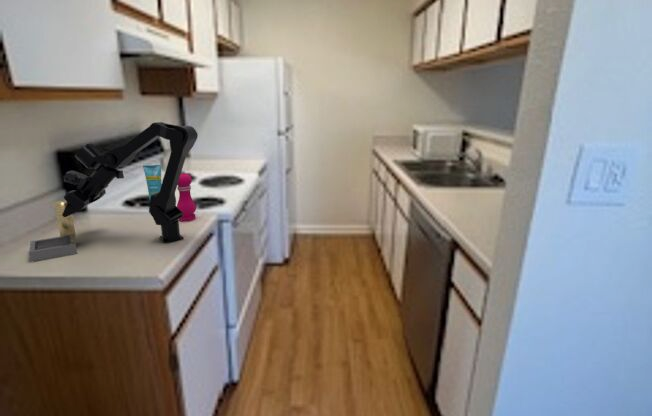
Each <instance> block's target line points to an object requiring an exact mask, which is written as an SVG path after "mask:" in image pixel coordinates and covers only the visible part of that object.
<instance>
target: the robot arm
mask: <svg viewBox="0 0 652 416" xmlns="http://www.w3.org/2000/svg"><path fill="white" fill-rule="evenodd" d="M198 136H199V135H198V132H197V130H196V129H195V128H194V126H191V125H182V126H181V125H175V124H169V123H167V122H163V121H160V122H159V121H157V122H152V123H151V124H150V125H149V126H148V127H146V129H144V130H143V131H141V132H140V133H138V134H137V135H135V136H134V137H133V138H131V139H130V140H128V141H127V142H126V143H124V144H122V145H119V146H117V147H114V148H112V149H108V150H107V151H105V152H104V153H102V152H101V151H100V150H98V148H97V147H96V146H95V145H94V144H93V143H92V142H91V143H87V144H86V145H84V146H82V147H81V148H80V149H78V150H77V151H76V152H75V154H74V157H75V158H76V159H77V160H78V161H80V163H81V164H83V165H84V167H85V168H87V169H88V170H92V169H93V170H94V171H93V172H92V174H91V175H89V176H88V175H86V174H84V173H82V172H79V171H76V170H69V171H66V172H65V174H64V175H63V182H64V183H66V184H67V183H69V184H71V185H73V186H76V189H77V190H76V189H74V190H70V191H68V192H66V194H65V195H63V199H64V201H67V205H66V207H65V210H64V212H63V214H62V216H63V217H67V216H69V215H71V214H72V215H73V214H76V213H78V212H80V211H83V209H85V208H86V207H87V206H88V205H90V204H92V203H95V202H96V201H98V200H100V199H101V198H103V197H104V196H105V195H106V194H107V191H106V189H107V188H108V187H109V184H110V183H111V182H112V181H114V179H115V178H116V179H118V180H120V179H125V176H124V171H123V170H122V169H121V170H119V168H121V167H122V168H123V167H126V166H128V165H129V164H130V163H132V161H133V160H134V159H135V158H136V155H137V154H138V153H139V152H141V151H142V150H144V149H145V148H146V147H148V146H149V145H151V144H152V143H153V142H155V141H157V139H159V138H160V137H161V138H162V139H165V140H167V141H169V147H170V154H169V159H168V161H167V165H166V169H165V171H164V176H163V177H162V178H163V179H162V181H161V183H162V185H161V188H160V191H159V192H158V193H156V194H153V195H151V198H149V203H148V205H147V207H148V213H149V214H150V216H151V217H152V219H153V221H154V223H155V225H157V226H160V230H161V235H159V239H160V240H161V242H162V243H171V242H176V241H180V240H184V237H183V236H182V235H181V230H180V220H179V219H180V218H182V215H183V212H182V211H181V210H180V209H179V208H177V199H176V198H177V197H176V192H177V189H178V188H177V187H178V185H177V184H178V181H179V178H180V175H181V171H182V170H183V167H184V165H185V161H186V158H187V156H188V154H189V152H191V150H192V148H193V147H194V145H195V143H196V142H197V140H198ZM78 190H79V191H78Z"/></svg>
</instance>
